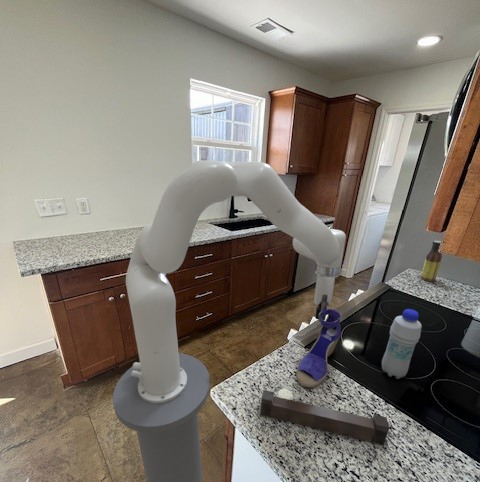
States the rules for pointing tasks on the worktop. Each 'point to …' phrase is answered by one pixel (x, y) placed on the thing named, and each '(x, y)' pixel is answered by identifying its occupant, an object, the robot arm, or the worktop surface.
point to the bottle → (401, 343)
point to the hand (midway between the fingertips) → (320, 318)
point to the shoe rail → (325, 418)
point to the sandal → (320, 350)
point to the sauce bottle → (432, 263)
